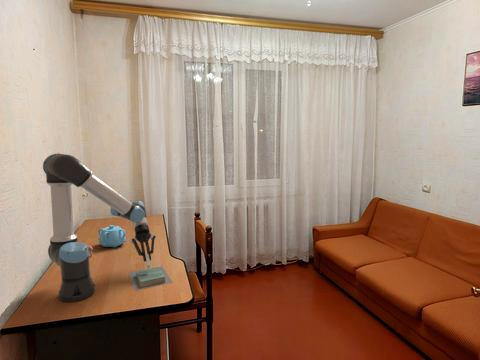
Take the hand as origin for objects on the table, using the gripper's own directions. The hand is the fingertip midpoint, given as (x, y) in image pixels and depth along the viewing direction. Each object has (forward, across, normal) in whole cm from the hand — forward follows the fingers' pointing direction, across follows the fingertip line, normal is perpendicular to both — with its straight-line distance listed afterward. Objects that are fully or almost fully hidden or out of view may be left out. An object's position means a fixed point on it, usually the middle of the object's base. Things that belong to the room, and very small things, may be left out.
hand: (148, 266), depth 163 cm
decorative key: (-29, +34, -38) cm, 59 cm away
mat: (+5, 0, -3) cm, 6 cm away
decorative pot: (-39, +12, -48) cm, 63 cm away
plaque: (0, 0, -6) cm, 6 cm away
